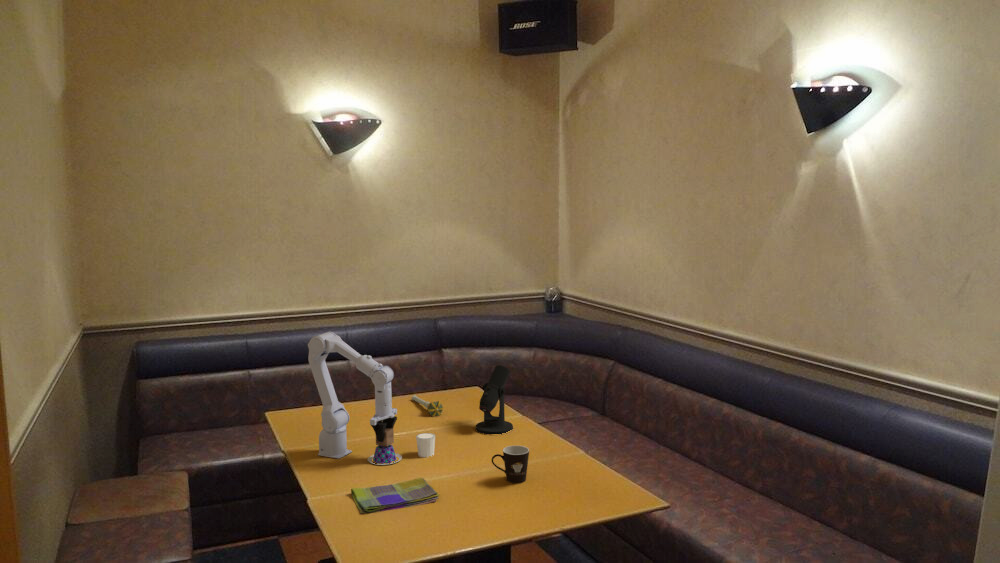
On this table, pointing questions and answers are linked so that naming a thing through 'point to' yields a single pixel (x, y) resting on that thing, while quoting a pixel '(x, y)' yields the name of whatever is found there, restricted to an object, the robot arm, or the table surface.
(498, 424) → the microphone
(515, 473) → the coffee mug
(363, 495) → the dish towel
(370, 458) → the pudding
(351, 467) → the table surface
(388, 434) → the walnut block
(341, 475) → the table surface
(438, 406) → the light stick
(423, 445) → the white tapered cup
